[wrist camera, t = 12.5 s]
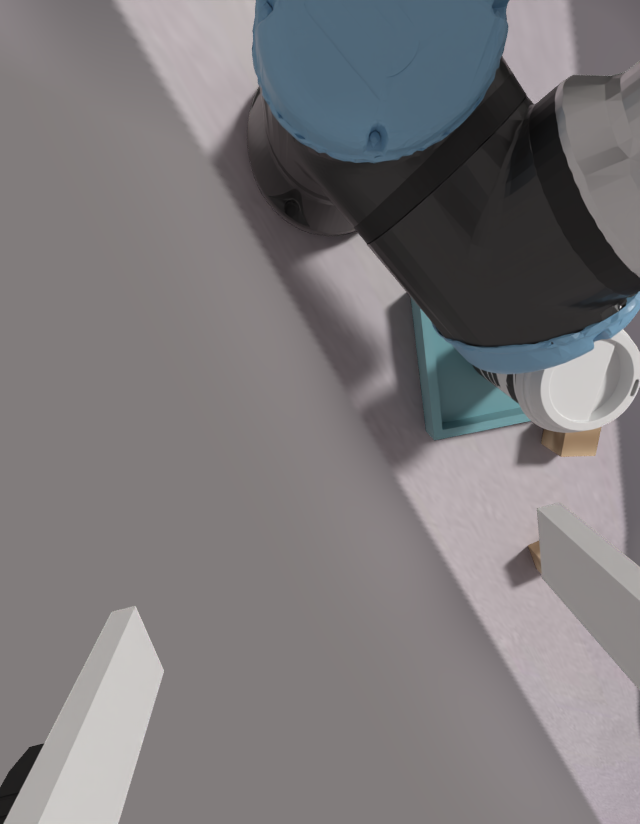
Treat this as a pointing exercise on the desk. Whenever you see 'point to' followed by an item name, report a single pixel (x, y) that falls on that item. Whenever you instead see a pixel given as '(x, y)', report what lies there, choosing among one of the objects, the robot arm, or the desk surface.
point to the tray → (456, 388)
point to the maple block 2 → (572, 442)
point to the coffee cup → (577, 387)
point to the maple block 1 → (536, 554)
